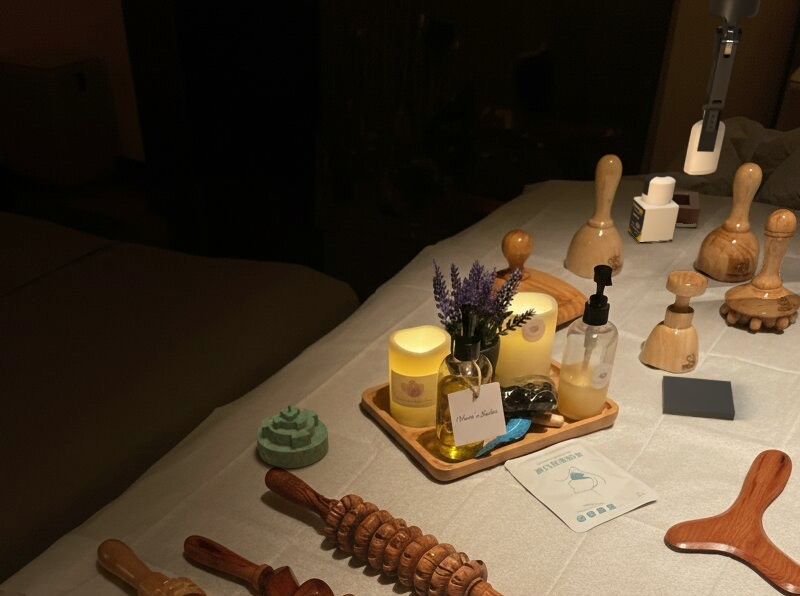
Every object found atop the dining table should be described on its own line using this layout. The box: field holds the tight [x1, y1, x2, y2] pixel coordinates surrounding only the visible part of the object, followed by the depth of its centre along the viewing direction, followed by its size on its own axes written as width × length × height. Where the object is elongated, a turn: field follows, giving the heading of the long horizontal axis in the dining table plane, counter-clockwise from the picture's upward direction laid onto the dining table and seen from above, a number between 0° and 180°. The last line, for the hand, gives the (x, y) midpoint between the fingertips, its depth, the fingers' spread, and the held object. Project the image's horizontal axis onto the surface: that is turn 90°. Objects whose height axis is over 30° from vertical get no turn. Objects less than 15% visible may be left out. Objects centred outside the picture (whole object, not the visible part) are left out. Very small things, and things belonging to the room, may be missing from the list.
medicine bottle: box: [627, 172, 679, 243], centre depth 178 cm, size 7×7×12 cm
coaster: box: [661, 375, 736, 421], centre depth 131 cm, size 10×10×1 cm
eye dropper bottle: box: [683, 105, 726, 176], centre depth 151 cm, size 4×6×12 cm
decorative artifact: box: [256, 403, 330, 469], centre depth 122 cm, size 10×7×10 cm
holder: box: [672, 190, 701, 225], centre depth 188 cm, size 11×11×4 cm
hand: (705, 146), depth 152 cm, fingers closed on eye dropper bottle, 4 cm apart
